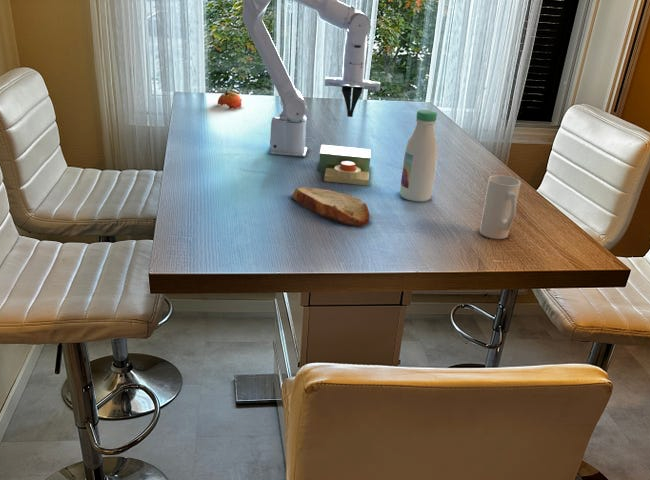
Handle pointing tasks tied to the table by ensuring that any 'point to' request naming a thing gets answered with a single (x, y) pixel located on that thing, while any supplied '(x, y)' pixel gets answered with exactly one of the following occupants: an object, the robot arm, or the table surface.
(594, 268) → the table surface
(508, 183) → the mug
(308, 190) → the bread slice
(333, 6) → the robot arm
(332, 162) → the box
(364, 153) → the lid
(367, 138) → the table surface
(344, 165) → the switch
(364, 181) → the switch block
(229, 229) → the table surface
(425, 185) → the milk bottle
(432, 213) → the table surface
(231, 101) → the tomato
